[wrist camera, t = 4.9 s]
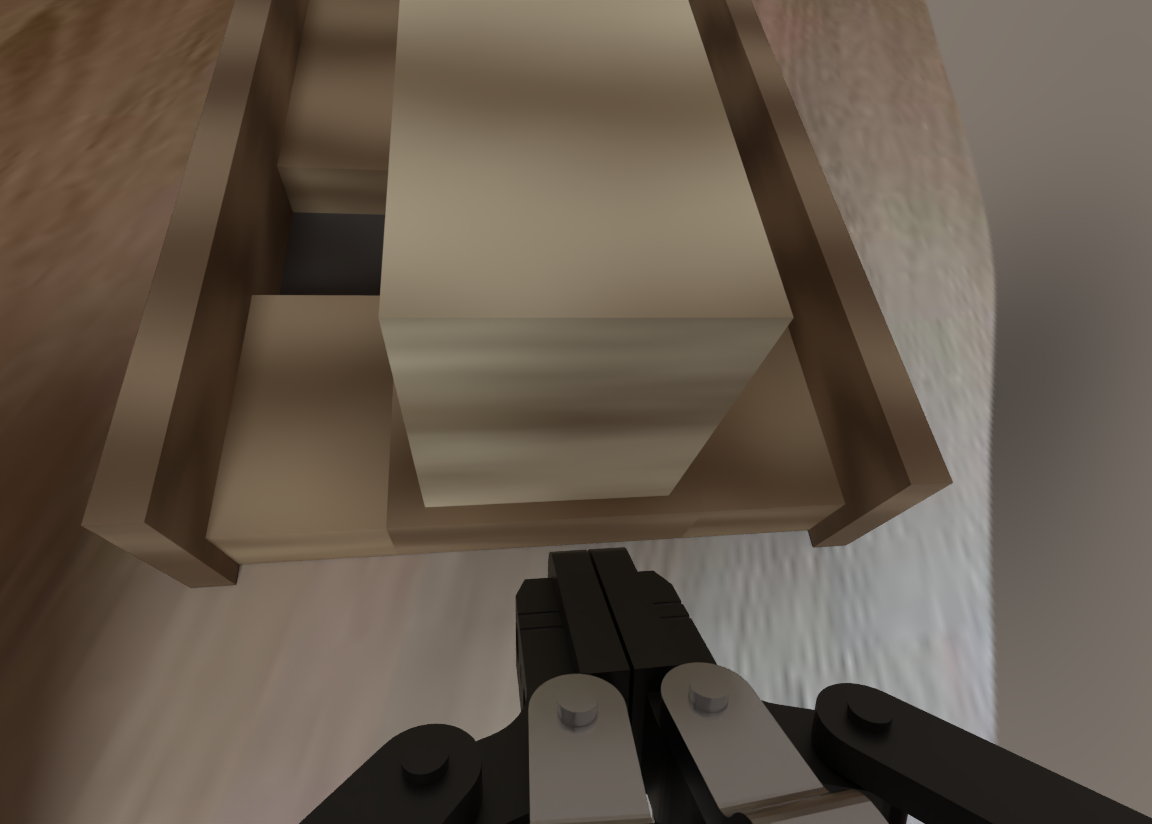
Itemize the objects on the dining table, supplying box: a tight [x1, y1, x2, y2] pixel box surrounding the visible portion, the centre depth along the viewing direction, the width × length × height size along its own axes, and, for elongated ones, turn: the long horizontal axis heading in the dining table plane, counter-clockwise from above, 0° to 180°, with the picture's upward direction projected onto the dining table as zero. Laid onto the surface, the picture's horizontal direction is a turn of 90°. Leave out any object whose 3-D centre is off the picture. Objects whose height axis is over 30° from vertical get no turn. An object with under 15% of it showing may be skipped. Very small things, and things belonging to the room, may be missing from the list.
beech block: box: [379, 0, 794, 507], centre depth 17 cm, size 11×7×8 cm, turn 5°
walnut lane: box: [81, 0, 953, 588], centre depth 24 cm, size 30×20×6 cm
